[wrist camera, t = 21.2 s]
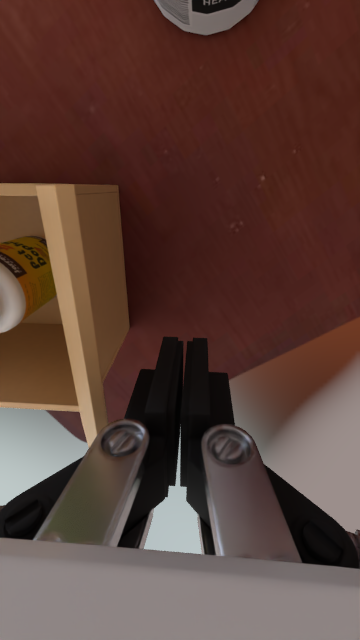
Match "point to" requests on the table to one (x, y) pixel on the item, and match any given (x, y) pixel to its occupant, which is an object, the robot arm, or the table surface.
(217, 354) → the table surface
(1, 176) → the table surface
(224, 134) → the table surface
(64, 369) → the carton
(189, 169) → the table surface
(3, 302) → the supplement bottle
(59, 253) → the flap
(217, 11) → the supplement can
